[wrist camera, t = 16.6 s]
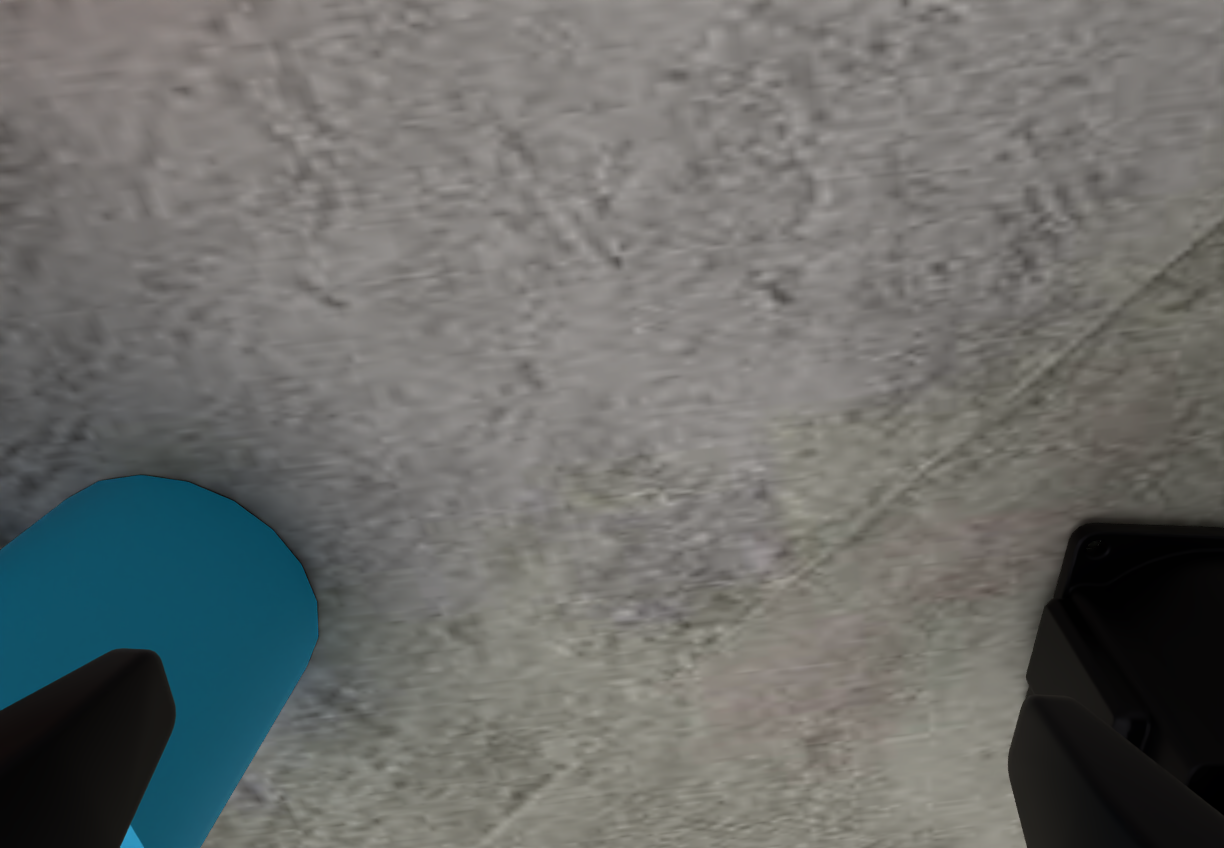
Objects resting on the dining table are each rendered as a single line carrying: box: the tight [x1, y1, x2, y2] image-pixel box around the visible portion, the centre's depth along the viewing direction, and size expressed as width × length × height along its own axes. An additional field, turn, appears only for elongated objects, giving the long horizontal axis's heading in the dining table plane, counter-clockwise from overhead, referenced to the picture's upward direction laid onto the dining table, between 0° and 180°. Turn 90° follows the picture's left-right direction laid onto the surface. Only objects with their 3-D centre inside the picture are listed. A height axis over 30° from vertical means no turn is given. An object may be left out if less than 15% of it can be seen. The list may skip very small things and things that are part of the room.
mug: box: [0, 475, 319, 848], centre depth 20 cm, size 12×8×8 cm
